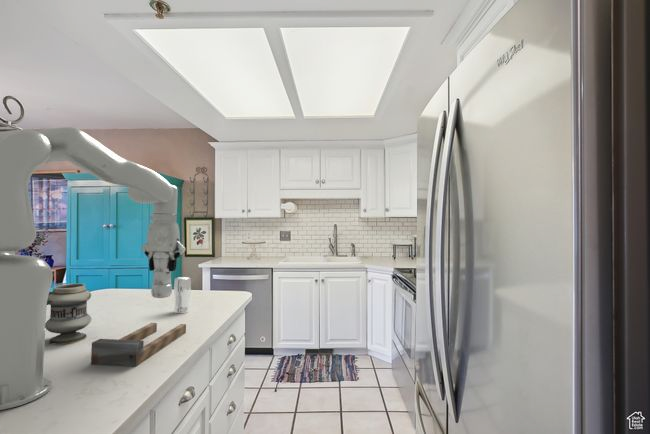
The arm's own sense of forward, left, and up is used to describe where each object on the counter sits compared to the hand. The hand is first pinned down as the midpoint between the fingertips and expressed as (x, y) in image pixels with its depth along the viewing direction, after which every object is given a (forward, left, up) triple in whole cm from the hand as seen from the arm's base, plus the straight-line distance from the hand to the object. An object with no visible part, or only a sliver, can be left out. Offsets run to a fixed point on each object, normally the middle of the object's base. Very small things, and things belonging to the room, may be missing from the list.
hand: (162, 270), depth 111 cm
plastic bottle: (0, 0, -10) cm, 10 cm away
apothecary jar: (-6, +28, -23) cm, 37 cm away
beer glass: (+31, +8, -23) cm, 40 cm away
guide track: (-9, 0, -23) cm, 25 cm away
